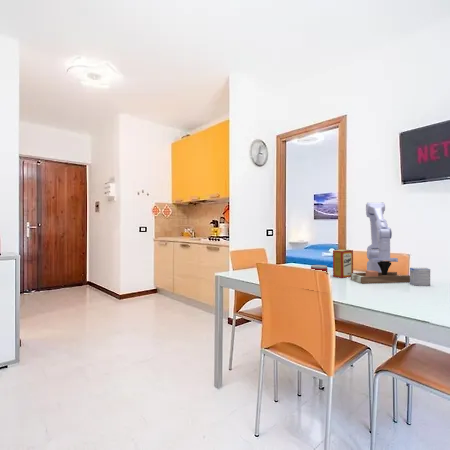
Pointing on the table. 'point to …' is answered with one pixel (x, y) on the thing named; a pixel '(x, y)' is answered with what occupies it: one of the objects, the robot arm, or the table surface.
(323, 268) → the canned food
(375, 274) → the block
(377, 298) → the table surface
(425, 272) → the medicine box
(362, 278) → the wooden frame
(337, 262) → the baking soda box
